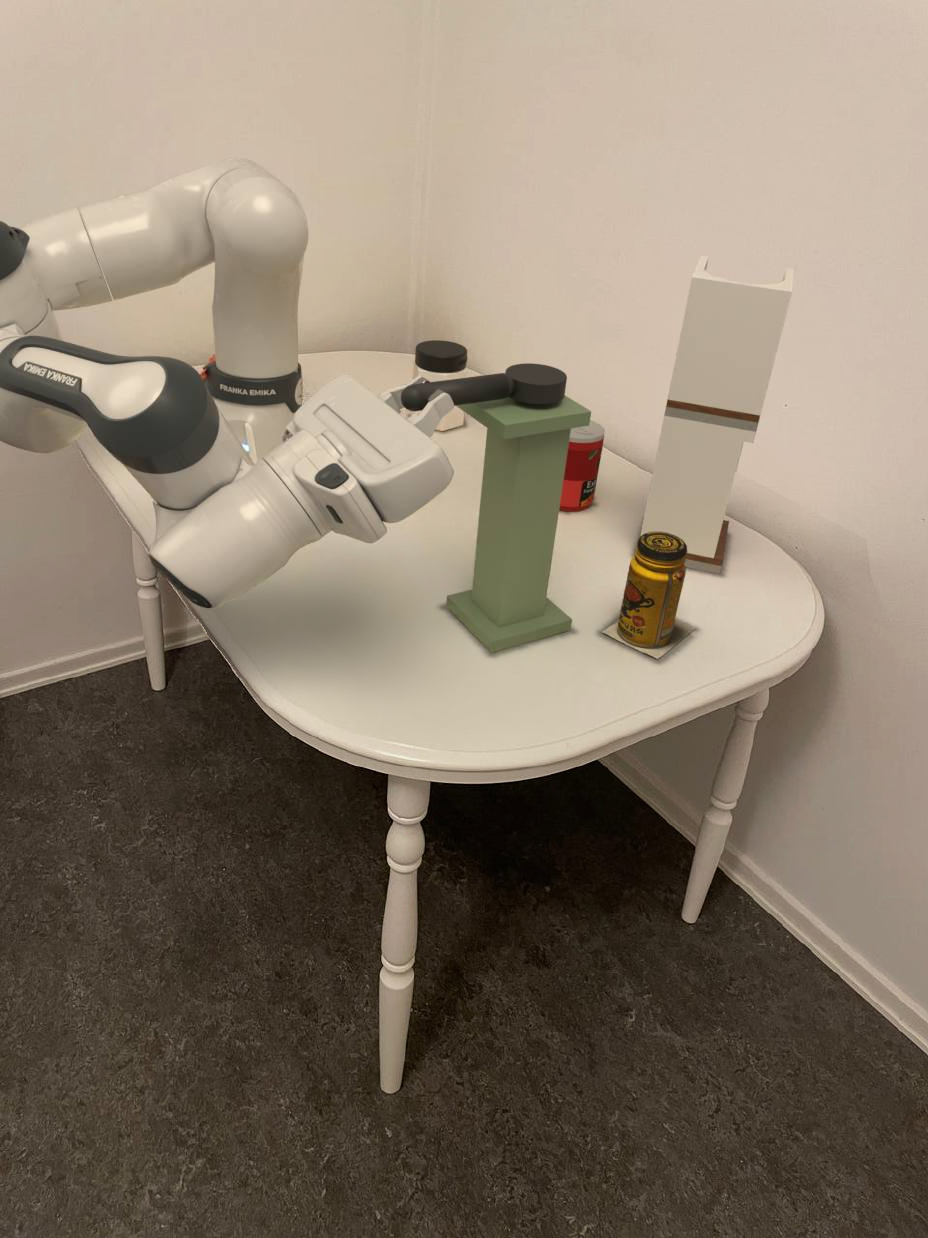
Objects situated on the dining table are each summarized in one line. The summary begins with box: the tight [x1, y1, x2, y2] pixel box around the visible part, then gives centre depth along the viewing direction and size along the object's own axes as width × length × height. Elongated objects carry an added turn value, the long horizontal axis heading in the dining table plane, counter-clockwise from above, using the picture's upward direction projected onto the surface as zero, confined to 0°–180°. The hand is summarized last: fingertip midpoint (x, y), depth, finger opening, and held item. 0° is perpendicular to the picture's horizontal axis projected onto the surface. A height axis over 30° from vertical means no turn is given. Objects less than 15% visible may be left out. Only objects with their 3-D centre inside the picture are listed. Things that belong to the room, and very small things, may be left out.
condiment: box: [601, 531, 696, 660], centre depth 106 cm, size 7×8×12 cm
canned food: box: [559, 419, 606, 513], centre depth 133 cm, size 8×8×11 cm
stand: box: [445, 395, 592, 654], centre depth 102 cm, size 12×10×26 cm
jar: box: [410, 339, 469, 432], centre depth 153 cm, size 9×8×12 cm
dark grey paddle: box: [401, 362, 568, 412], centre depth 91 cm, size 18×6×2 cm, turn 120°
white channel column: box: [639, 255, 795, 575], centre depth 117 cm, size 11×11×35 cm
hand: (438, 390), depth 89 cm, fingers closed on dark grey paddle, 2 cm apart
